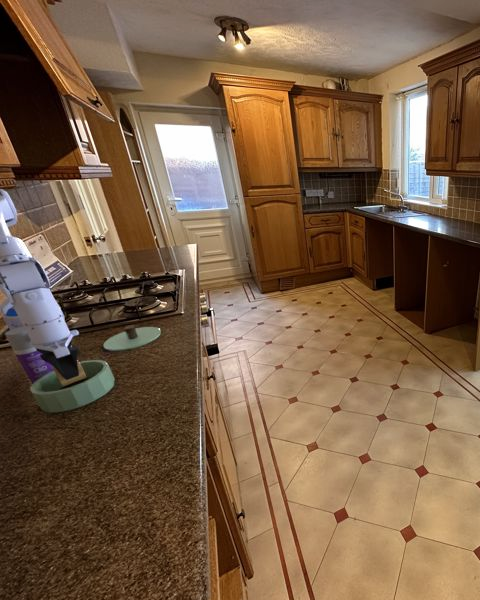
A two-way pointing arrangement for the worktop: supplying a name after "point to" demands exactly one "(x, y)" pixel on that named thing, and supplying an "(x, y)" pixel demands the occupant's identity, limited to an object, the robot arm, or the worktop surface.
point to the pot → (73, 388)
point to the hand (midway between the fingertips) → (70, 373)
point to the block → (72, 380)
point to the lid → (132, 338)
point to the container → (27, 354)
